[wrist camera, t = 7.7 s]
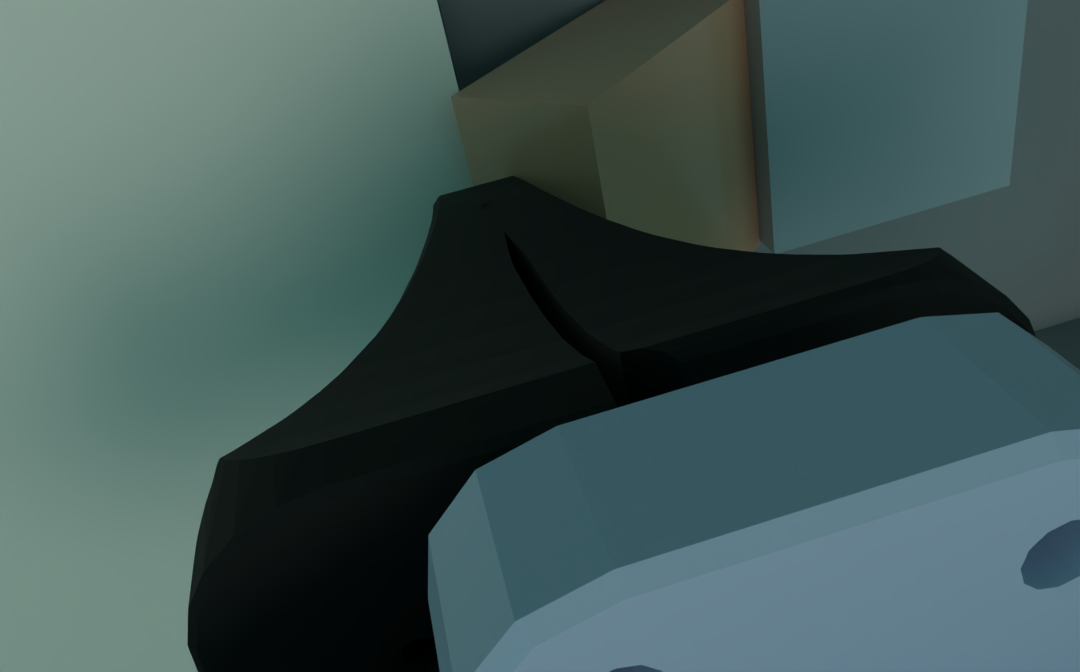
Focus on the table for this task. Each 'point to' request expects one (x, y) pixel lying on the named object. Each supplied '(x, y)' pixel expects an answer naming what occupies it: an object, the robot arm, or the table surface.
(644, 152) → the tile
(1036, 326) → the bin
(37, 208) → the large sage green panel
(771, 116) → the tile
